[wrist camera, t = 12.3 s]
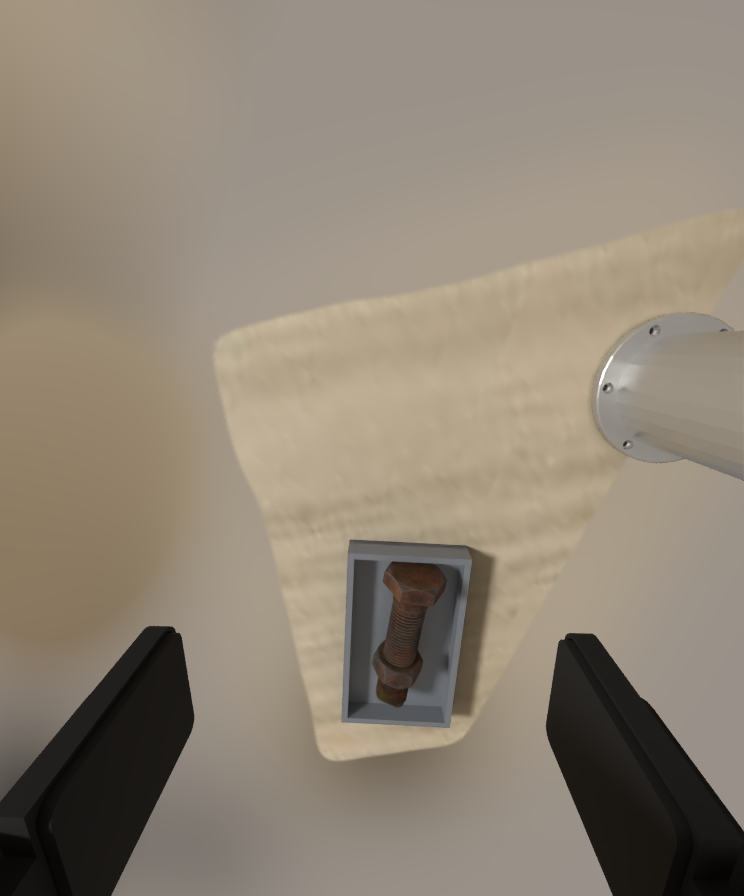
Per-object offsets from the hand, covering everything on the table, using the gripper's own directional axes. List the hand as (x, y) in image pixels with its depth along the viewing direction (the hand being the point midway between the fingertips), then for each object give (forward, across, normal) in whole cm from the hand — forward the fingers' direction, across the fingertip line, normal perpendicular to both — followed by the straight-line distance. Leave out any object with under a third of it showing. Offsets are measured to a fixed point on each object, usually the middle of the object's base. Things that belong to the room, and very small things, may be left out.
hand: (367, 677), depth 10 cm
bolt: (+26, -2, +20) cm, 33 cm away
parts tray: (+26, -2, +21) cm, 34 cm away
